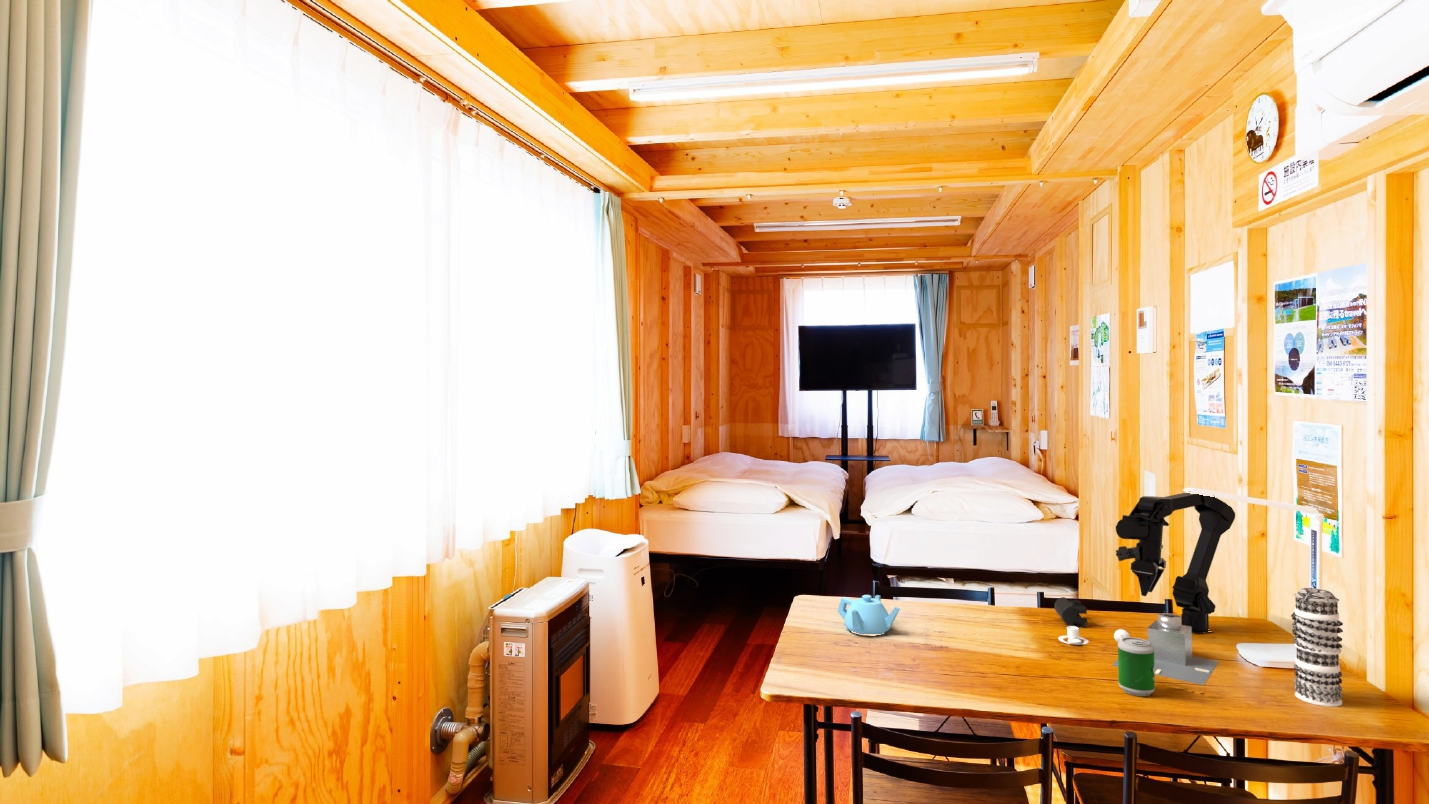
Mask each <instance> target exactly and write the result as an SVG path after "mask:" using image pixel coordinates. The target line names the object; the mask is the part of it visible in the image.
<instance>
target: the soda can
mask: <svg viewBox="0 0 1429 804" xmlns="http://www.w3.org/2000/svg"><path fill="white" fill-rule="evenodd" d="M1117 660H1118V667H1117V669H1118V671H1117V674H1118V676H1117V677H1118V678H1117V679H1118V685H1119V687H1120V688H1121V689H1122V691H1123V692H1125V693H1126V694H1129V695H1131V696H1137V697H1148V696H1150V695H1151V694H1152V693H1154V692H1155V690H1156V689H1155V688H1156V684H1155V683H1156V682H1155V681H1156V680H1155V679H1156V677H1155V676H1156V675H1155V670H1154V647H1153V646H1152V645H1151V644H1150V643H1149V642H1148V640H1146V639H1143V638H1139V637H1131V636H1130V637H1127V638H1123V639H1122V640H1121V641H1119V643H1118V642H1117Z"/></svg>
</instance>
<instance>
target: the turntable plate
mask: <svg viewBox="0 0 1429 804" xmlns="http://www.w3.org/2000/svg"><path fill="white" fill-rule="evenodd" d="M1127 637H1131V634H1130V633H1129V632H1128V631H1127V630H1125V629H1123V628H1122V629H1121V628H1119V629H1117V630H1115V632H1114V634H1113V638H1114V640H1115V641H1116V643H1117V644H1118V643H1119V641H1121V640H1122V639H1123V638H1127ZM1218 664H1219V660H1213V659H1207V658H1203V657H1202V658H1201V657H1198V656H1197V657H1196V656H1193V655H1192V658H1191V659H1190V660H1189V662H1188V663H1187V664H1186V666H1184V665H1179V664H1174V663H1169V662H1164V661H1159V660H1155V659H1154V670H1155V676H1159V677H1165V678H1169V679H1173V680H1177V681H1181V682H1182V681H1183V682H1187V683H1191V684H1192V683H1193V684H1197V685H1199V686H1200V685H1201V686H1204V685H1205V684H1206V683H1207V681H1208V679H1209V678H1210V676H1211V675H1212V673H1213V671H1214V670H1215V668H1216V667H1217V665H1218ZM1111 666H1114V667H1117V668H1118V659H1116V661H1115V662H1113V664H1111Z"/></svg>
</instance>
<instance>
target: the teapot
mask: <svg viewBox="0 0 1429 804" xmlns="http://www.w3.org/2000/svg"><path fill="white" fill-rule="evenodd" d="M872 596H873V595H870V594H864V595H861V597H859V598H856V599H854V600H853V599H851V598H848V597H846V596H843V597H841V598H840V601H839V605H838V608H837V613H838V614H839V615H840V616H841V617H842V619H843V620H844V626H845V628H846V629H847V630H848V629H849V630H850V631H853V632H856V633H859V634H882V633H885V632H886V631H887V632H889V630H890V628H891V627H892V625H893V624H894V621H895V619H896V618H897V615H898V613H899V611H901V610H900V607H896V606H894V607H893V609H892V611H891V612H890V613H888V611H887V609H886V607H885V605H884V604H883V603H882V601H881V595H878V594H876V595H874V598H872ZM847 605H848V606H849V607H848V609H847ZM849 630H848V631H849ZM850 631H849V632H850ZM887 632H886V633H887ZM886 633H885V634H886Z"/></svg>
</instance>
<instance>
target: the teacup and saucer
mask: <svg viewBox="0 0 1429 804" xmlns="http://www.w3.org/2000/svg"><path fill="white" fill-rule="evenodd" d="M1066 631H1067V632H1066V634H1067V635H1061V636H1058V641H1060V642H1061V643H1065V644H1068V645H1074V646H1082V645H1083V646H1084V645H1086V644H1088V643H1089V642H1090V641H1089V639H1087V638H1084V637H1083V636H1080V628H1078V627H1075V626H1069V625H1067V626H1066ZM1066 638H1068V639H1067V641H1065V640H1064V639H1066Z"/></svg>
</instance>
